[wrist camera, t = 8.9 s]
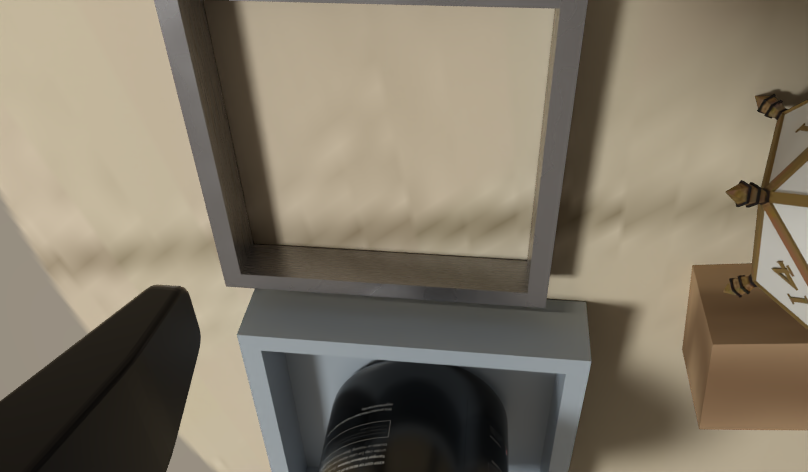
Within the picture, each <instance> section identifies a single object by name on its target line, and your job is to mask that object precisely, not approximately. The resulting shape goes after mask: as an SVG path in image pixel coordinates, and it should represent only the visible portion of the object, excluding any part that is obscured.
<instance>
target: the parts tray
mask: <svg viewBox="0 0 808 472" xmlns="http://www.w3.org/2000/svg"><path fill="white" fill-rule="evenodd" d="M237 337H238V341H239V345H240V349H241V353H242V357H243V361H244V365H245V369H246V373H247V377H248V380H249V384H250V388H251V392H252V396H253V400H254V404H255V408H256V412H257V416H258V420H259V424H260V428H261V432H262V435H263V439H264V443H265V447H266V451H267V455H268V459H269V463H270V467H271V471H272V472H318V469H319V464H320V460H321V455H322V450H323V446H324V441H325V436H326V432H327V427H328V423H329V419H330V415H331V410H332V406H333V403H334V400H335V397H336V395H337V393H338V391H339V389H340V388H341V386H342V385H343V384H344V383H345V382H346V381H347V380H348V379H349V378H350V377H351V376H352V375H354V374H355V373H356V372H358V371H360V370H361V369H363V368H365V367H367V366H369V365H372V364H375V363H378V362H382V361H385V360H389V361H402V362H415V363H428V364H441V365H454V366H458V367H460V368H463V369H465V370H467V371H469V372H471V373H473V374H474V375H476V376H477V377H479V378H480V379H482V380H483V381H484V382H485V383H487V384H488V385H489V386H490V387H491V388H492V389H493V390H494V392H495V393H496V394H497V396H498V397H499V398H500V400H501V402H502V404H503V406H504V408H505V411H506V415H507V421H508V447H509V472H568V471H569V466H570V461H571V457H572V452H573V447H574V442H575V438H576V433H577V428H578V423H579V419H580V414H581V409H582V404H583V400H584V395H585V390H586V385H587V381H588V376H589V371H590V366H591V362H592V361H591V350H590V339H589V328H588V317H587V306H586V302H579V301H564V300H549V299H546V306H545V308H537V307H523V306H508V305H493V304H478V303H464V302H449V301H434V300H419V299H405V298H390V297H375V296H360V295H346V294H331V293H316V292H301V291H287V290H272V289H257V288H255V290H254V292H253V295H252V297H251V300H250V303H249V305H248V308H247V310H246V313H245V315H244V318H243V320H242V323H241V326H240V328H239V331H238V333H237Z"/></svg>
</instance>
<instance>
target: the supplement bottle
mask: <svg viewBox="0 0 808 472" xmlns="http://www.w3.org/2000/svg"><path fill="white" fill-rule="evenodd" d="M318 472H509V447H508V421H507V415H506V411H505V408H504V406H503V404H502V402H501V400H500V398H499V397H498V396H497V394H496V393H495V392H494V390H493V389H492V388H491V387H490V386H489V385H488V384H487V383H485V382H484V381H483V380H482V379H480V378H479V377H477V376H476V375H474V374H473V373H471V372H469V371H467V370H465V369H463V368H460V367H458V366H454V365H441V364H428V363H415V362H402V361H389V360H385V361H382V362H378V363H375V364H372V365H369V366H367V367H365V368H363V369H361V370H360V371H358V372H356V373H355V374H354V375H352V376H351V377H350V378H349V379H348V380H347V381H346V382H345V383H344V384H343V385H342V386H341V388H340V389H339V391H338V393H337V395H336V397H335V400H334V403H333V406H332V410H331V415H330V419H329V423H328V427H327V432H326V436H325V441H324V446H323V450H322V455H321V460H320V464H319V469H318Z"/></svg>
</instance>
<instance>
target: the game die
mask: <svg viewBox="0 0 808 472" xmlns="http://www.w3.org/2000/svg"><path fill="white" fill-rule="evenodd" d="M775 97H776V95H775V94H773V95H772V96H755V98H756V102H757V105H758V110H757V111H758V112H760V113H763V114H765V115H764V116H766V117H769V118H772V117H773V118H775V119H776V120H777V123H776V127H775V131H774V135H773V140H772V144H771V148H770V152H769V156H768V161H767V165H766V169H765V173H764V177H763V181H762V186H761V187H759V186H758V185H756V184H754V183H752V182H750V184H747V183H746V182H744V181H742V180H741V181H740V182H739V184H738V185H736V186H734V187H733V188H731V189H729V190H728V191H726V193H727V194H728V195H729V196H730V197H731V198H732V199H733V200H734V201H735V203H736V207H740V206H743V205H746V207H752V206H754V205H757V204H758V210H757V220H756V230H755V240H754V250H753V259H752V269H751V274H750V275H749V276H745V275H739V276H737V277H738V278H730V279H729V283H728V284H727V286H726V287H725V289H724V290H723V292H724V293H729V294H733V295H737V296H738V297H739V298H741V297H742V295H743V294H745V293H747V294H750V291H751V290H752V289H753V288H754V287H758V288H760V289H761V290H762V291H763V292H764V293H765V294H767V295H768V296H769V297H770V298H771V299H772V300H773V301H775V302H776V303H777V304H778V305H779V306H780V307H782V308H783V309H784V310H785V311H786V312H787V313H788V314H790V315H791V316H792V317H793V318H794V319H795V320H797V321H798V322H799V323H800V324H801V325H802V326H803V327H805V328H806V329H807V330H808V100H806V101H804V102H802V103H800V104H798V105H796V106H794V107H792V108H790V109H786V108H785V107H784V106H783V105H782V100H777V99H776V98H775Z"/></svg>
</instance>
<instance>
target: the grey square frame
mask: <svg viewBox="0 0 808 472" xmlns="http://www.w3.org/2000/svg"><path fill="white" fill-rule="evenodd" d="M231 1H272V2H313V3H354V4H395V5H436V6H478V7H519V8H555V14H554V23H553V32H552V41H551V50H550V59H549V68H548V77H547V86H546V95H545V105H544V114H543V123H542V132H541V141H540V150H539V159H538V168H537V177H536V187H535V196H534V205H533V214H532V223H531V232H530V241H529V250H528V259H527V261H522V260H505V259H489V258H473V257H456V256H440V255H424V254H407V253H391V252H374V251H358V250H342V249H325V248H309V247H293V246H276V245H260V244H253V240H252V235H251V230H250V225H249V221H248V216H247V211H246V206H245V201H244V197H243V192H242V187H241V182H240V177H239V173H238V168H237V163H236V158H235V154H234V149H233V144H232V139H231V134H230V130H229V125H228V120H227V115H226V110H225V106H224V101H223V96H222V91H221V86H220V82H219V77H218V72H217V67H216V63H215V58H214V53H213V48H212V43H211V39H210V34H209V29H208V24H207V19H206V15H205V10H204V5H203V0H154V3H155V7H156V10H157V14H158V18H159V22H160V26H161V30H162V34H163V38H164V42H165V46H166V50H167V54H168V58H169V62H170V66H171V70H172V74H173V78H174V82H175V86H176V90H177V94H178V98H179V102H180V105H181V109H182V113H183V117H184V121H185V125H186V129H187V133H188V137H189V141H190V145H191V149H192V153H193V157H194V161H195V165H196V169H197V173H198V177H199V181H200V185H201V189H202V193H203V197H204V201H205V204H206V208H207V212H208V216H209V220H210V224H211V228H212V232H213V236H214V240H215V244H216V248H217V252H218V256H219V260H220V264H221V268H222V272H223V276H224V280H225V284H226V286H228V287H243V288H257V289H272V290H287V291H301V292H316V293H331V294H346V295H360V296H375V297H390V298H405V299H419V300H434V301H449V302H464V303H478V304H493V305H508V306H523V307H537V308H545V306H546V299H547V292H548V285H549V278H550V270H551V263H552V256H553V249H554V242H555V234H556V227H557V220H558V213H559V206H560V198H561V191H562V184H563V177H564V169H565V162H566V155H567V148H568V141H569V133H570V126H571V119H572V112H573V105H574V97H575V90H576V83H577V76H578V69H579V61H580V54H581V47H582V40H583V32H584V25H585V18H586V11H587V4H588V0H231Z"/></svg>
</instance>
